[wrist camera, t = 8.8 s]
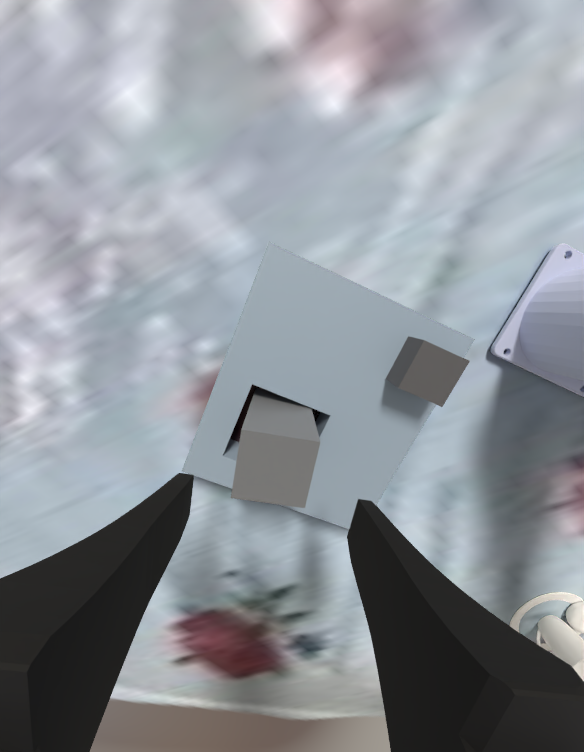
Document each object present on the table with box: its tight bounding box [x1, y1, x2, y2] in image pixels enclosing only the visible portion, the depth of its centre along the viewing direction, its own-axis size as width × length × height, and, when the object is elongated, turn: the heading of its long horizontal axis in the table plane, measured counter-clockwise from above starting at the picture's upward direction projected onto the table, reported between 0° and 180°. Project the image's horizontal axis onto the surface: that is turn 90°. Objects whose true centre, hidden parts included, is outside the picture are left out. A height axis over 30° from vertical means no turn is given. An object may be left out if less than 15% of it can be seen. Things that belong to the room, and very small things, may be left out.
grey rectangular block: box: [231, 388, 320, 508], centre depth 17 cm, size 4×4×7 cm
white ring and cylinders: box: [509, 592, 584, 681], centre depth 25 cm, size 9×8×4 cm
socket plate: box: [182, 242, 475, 529], centre depth 18 cm, size 14×16×4 cm
